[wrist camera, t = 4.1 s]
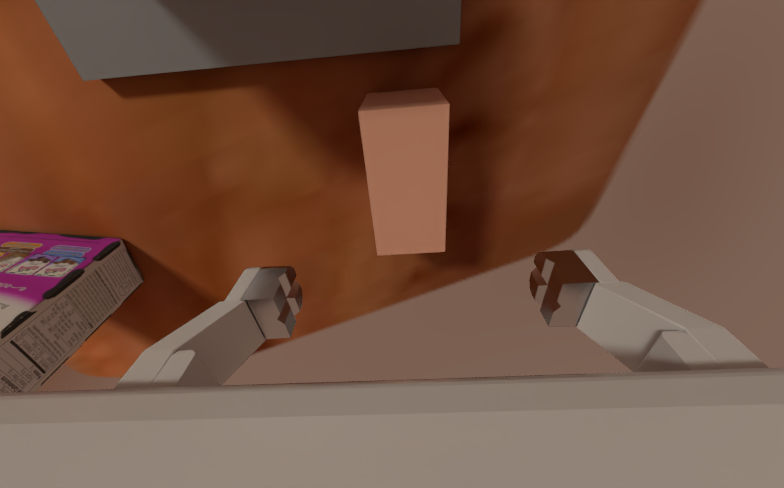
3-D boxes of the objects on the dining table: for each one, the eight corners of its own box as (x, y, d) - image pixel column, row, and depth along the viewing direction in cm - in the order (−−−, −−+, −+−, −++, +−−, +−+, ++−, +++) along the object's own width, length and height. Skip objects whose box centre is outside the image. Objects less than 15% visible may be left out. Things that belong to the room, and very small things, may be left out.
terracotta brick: (436, 87, 17) (449, 103, 13) (435, 210, 21) (445, 251, 17) (367, 93, 17) (358, 111, 13) (381, 213, 22) (377, 255, 18)
